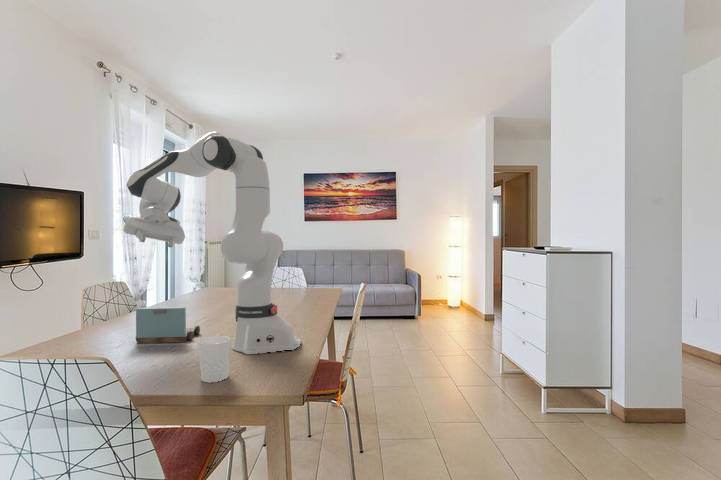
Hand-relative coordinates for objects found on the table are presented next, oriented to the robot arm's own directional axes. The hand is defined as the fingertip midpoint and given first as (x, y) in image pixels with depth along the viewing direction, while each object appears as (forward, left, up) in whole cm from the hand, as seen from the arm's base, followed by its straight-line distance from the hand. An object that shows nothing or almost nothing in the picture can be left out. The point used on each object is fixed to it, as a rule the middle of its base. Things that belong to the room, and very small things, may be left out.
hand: (157, 243), depth 134 cm
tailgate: (-3, +5, -32) cm, 33 cm away
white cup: (-31, +40, -35) cm, 62 cm away
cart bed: (-3, -2, -35) cm, 35 cm away
